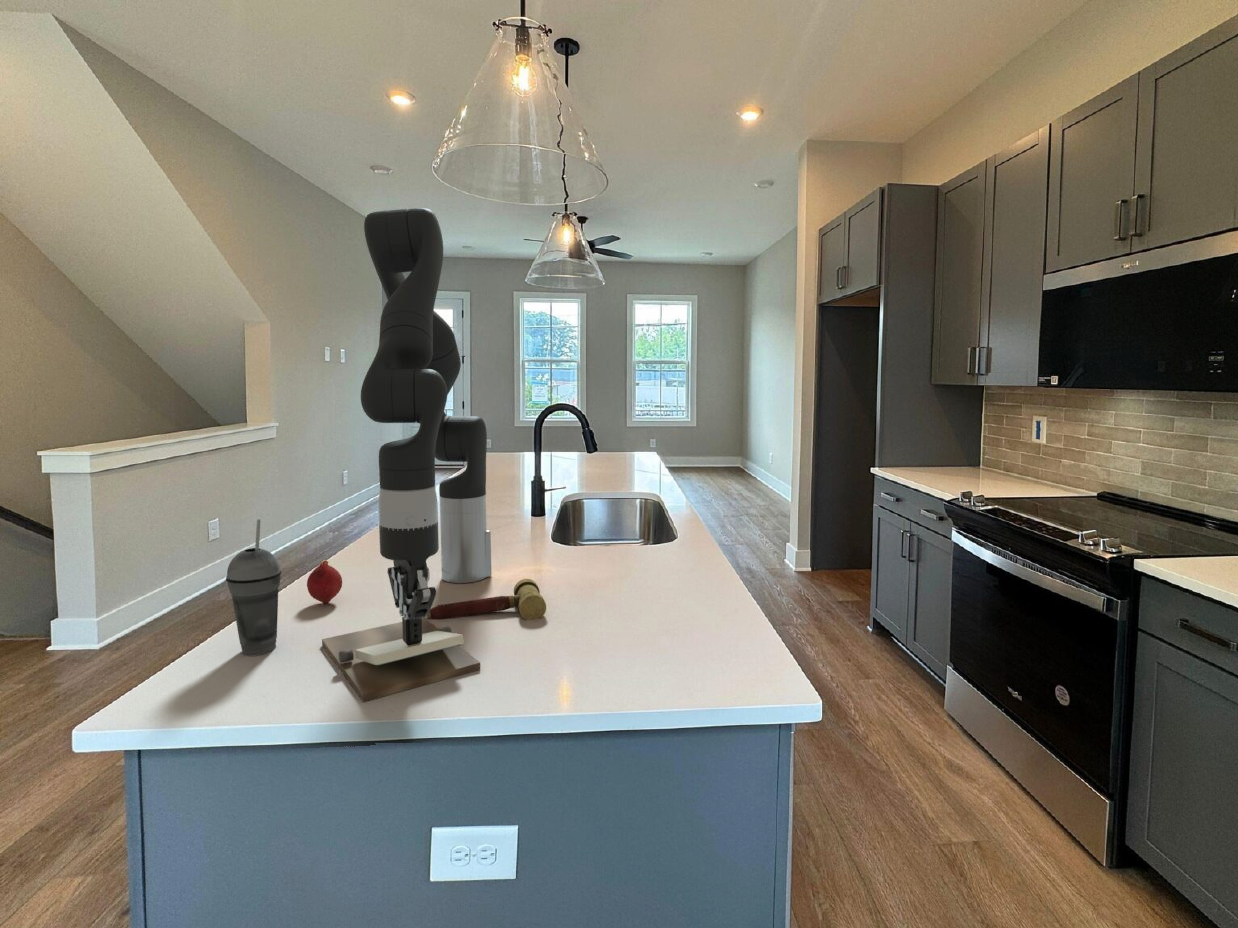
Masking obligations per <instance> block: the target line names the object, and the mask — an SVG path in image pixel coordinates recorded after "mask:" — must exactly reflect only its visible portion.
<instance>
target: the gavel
mask: <svg viewBox="0 0 1238 928" xmlns="http://www.w3.org/2000/svg"><path fill="white" fill-rule="evenodd" d="M540 593H541V591H540V588H539V585H538V584H537V582H536V581H534V580H533V579H531V578H524V579H523V578H522V579H521V580H519V581H517V582H516V584H514V587H513V595H499V596H492V597H485V598H479V599H471V600H466V601H465V600H464V601H458V602H452V603H451V602H449V603H445V604H438V605H437V606H435V607H431V610H430V612H429V615H428V616H426V617H427V619H428V620H430V619H432V620H434V619H435V620H443V619H451V618H452V619H455V618H460V617H469V616H476V615H481V614H482V615H483V614H490V613H494V612H495V613H496V612H503V611H506V610H509V609H513V608H518V611H519V614H520V615H521V617H522V619H524V620H525V621H527V620H528V621H529V620H539V619H542V618H543V617H544V615H545V614H546V611H547V604H546V601H545V599H544V597H543V596H542V594H540ZM426 617H425V618H426Z"/></svg>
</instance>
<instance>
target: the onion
mask: <svg viewBox="0 0 1238 928" xmlns="http://www.w3.org/2000/svg"><path fill="white" fill-rule="evenodd" d="M306 587H307V588H306V589H307V592H308V594H309V595H310V597H312V598H313V600H314V599H315V600H317V601H318V602H319V603H323V604H328V603H330V602H331V601H332V600H333V599H334V598H335V597H337V595H338V594H339V593H340V591H341V589H342V588H343V578H342V575H341V574H340V572H339V571H338V570H337V569H336V568H334V567H333V566H331V565H329V561H328V560H327V559H324V560H322V561H320V563H319V565H318V566H317V567H315V568H314V569H313V570H312V572H311V573H310V574H309V575H308V578H307V581H306Z"/></svg>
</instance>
